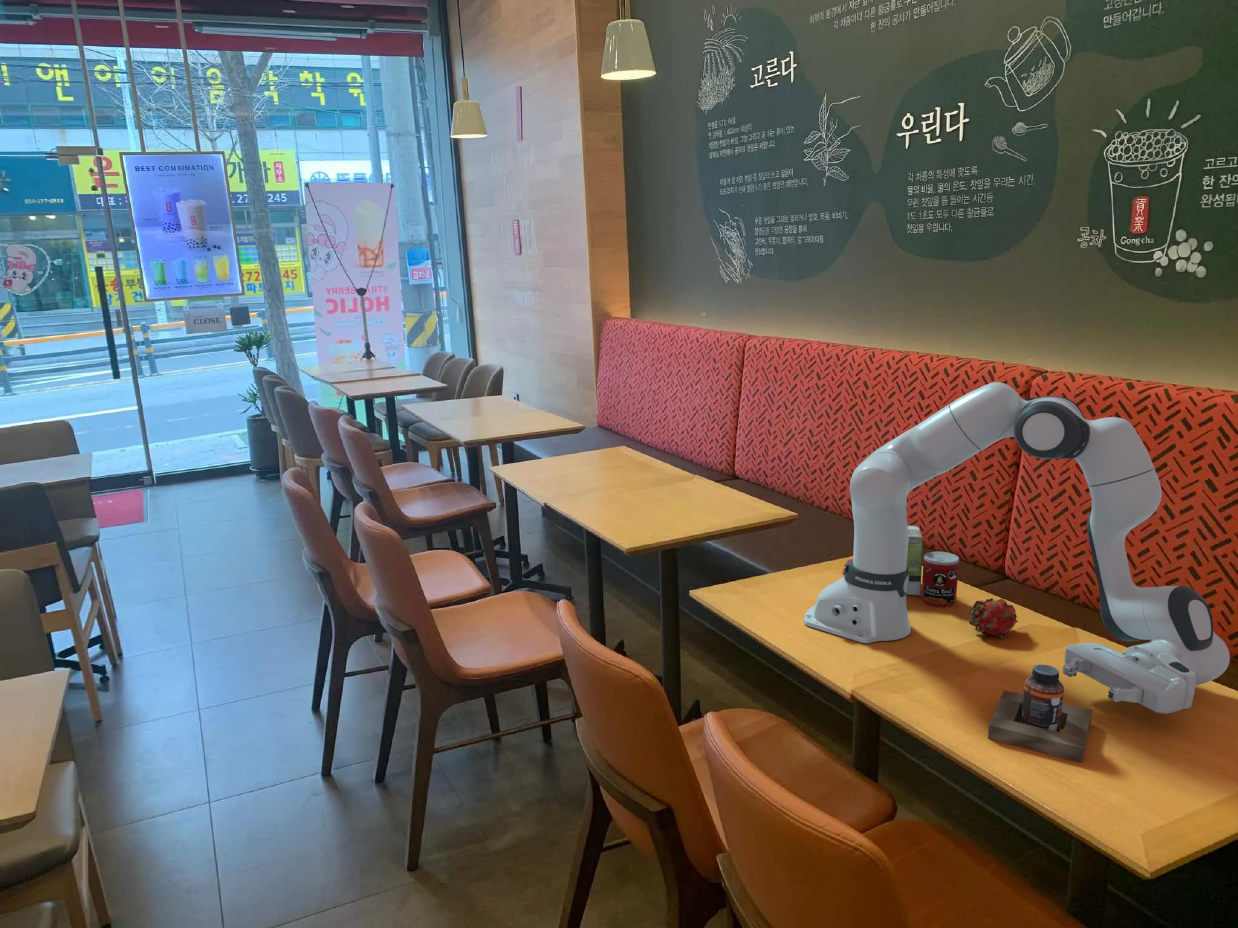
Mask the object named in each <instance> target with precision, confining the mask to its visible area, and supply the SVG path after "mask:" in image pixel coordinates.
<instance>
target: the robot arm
mask: <svg viewBox="0 0 1238 928" xmlns="http://www.w3.org/2000/svg"><path fill="white" fill-rule="evenodd" d="M1006 438H1014V440H1015V442H1016V444H1017V445H1018V446H1019V448H1020V450H1022V451H1023V452H1025V453H1026V454H1027V455H1028V456H1031V457H1033V458H1036V459H1042V460H1062V459H1063V460H1073V459H1075V461H1076V462H1077V463H1078V465H1079V466H1080V468H1081V471H1082V473H1083V475H1084V478H1085V481H1086V484H1087V486H1088V490H1089V492H1090V497H1091V511H1090V512H1089V514H1088V516H1087V520H1086V529H1087V537H1088V543H1089V548H1090V552H1091V553H1090V554H1091V557H1092V562H1093V567H1094V572H1095V575H1096V580H1097V585H1098V590H1099V607H1100V609H1099V610H1100V618H1101V621H1102V623H1103V625H1104V626H1105V628H1106V629H1107V630H1108V632H1109V633H1110V634H1111V635H1112V636H1113V637H1115V638H1117V639H1118V640H1120V641H1122V642H1123V641H1124V642H1137V641H1147V640H1149V642H1146V643H1142V644H1136V645H1132V646H1129V647H1127V648H1126V649H1124V650H1123V652H1120V651H1117V650H1115V649H1113V648H1111V647H1109V646H1106V645H1104V644H1102V643H1098V642H1084V643H1083V642H1082V643H1073V644H1068V645H1067V647H1066V649H1065V653H1064V664H1063V666H1062V671H1061V672H1062V674H1063V675H1065V676H1067V677H1069V678H1071V677H1077V673H1080V674H1082V675H1084V676H1086V677H1088V678H1090V679H1092V680H1094V681H1095V682H1098V683H1100V684H1101V685H1103V686H1106V687H1107V688H1109V689H1108V695H1107V698H1108V699H1110V700H1112V701H1113V702H1115V703H1118V702H1122V701H1123V702H1126V703H1127V702H1128V703H1138V704H1139V705H1141V706H1144V707H1145V708H1147V709H1149V710H1151V711H1153V712H1154V713H1158V714H1164V715H1166V714H1171V713H1176V712H1179V711H1181V710H1186V709H1191V707H1192V704H1193V701H1194V697H1195V692H1196V691H1195V690H1196V686H1200V685H1204V684H1206V683H1209V682H1211V681H1214V680H1215V679H1217V678H1220V677H1221V676H1222V675H1223V674H1224V673H1225V672H1226V671H1227V668H1228V667H1229V665H1230V660H1231V657H1230V650H1229V648H1228V646H1227V644H1226V643H1225V641H1224V640H1223V639H1221V638H1220V637H1219V636H1218V635H1217V634H1216V633H1215V631H1214V620H1213V619H1214V618H1213V615H1212V612H1211V609H1210V606H1209V605H1208V603H1207V602H1206V600H1205V599H1204V597H1203V596H1202V595H1201V594H1200V593H1199V592H1198V591H1196V590H1195V589H1194V588H1192V587H1190V586H1188V585H1166V586H1165V585H1161V586H1154V587H1153V586H1150V587H1149V586H1147V587H1139V586H1138V585H1136V584H1135V583H1134V581H1133V580H1132V576H1131V571H1130V567H1129V562H1128V561H1129V560H1128V556H1127V551H1126V547H1125V542H1126V541H1125V540H1126V537H1127V535H1128V534H1129V532H1130V531H1131V530H1132V529H1134V528H1135V527H1138V526H1139V525H1140V524H1142V523H1144V522H1145V521H1146V520H1148V519H1149V518H1151V516H1152V515H1153V514H1154V513H1155V512H1156V511H1157V510H1158V508H1159V506H1160V503H1161V501H1162V497H1163V495H1162V494H1163V493H1162V492H1163V491H1162V487H1161V485H1162V484H1161V482H1160V479H1159V476H1158V474H1157V471H1156V469H1155V466H1154V463H1153V462H1152V458H1151V457H1150V455H1149V452H1148V450H1147V448H1146V446H1145V444H1144V443H1143V441H1142V439H1141V438H1140V435H1139V434H1138V432H1137V431H1136V429H1135V428H1134V426H1133V425H1132V423H1130V422H1129V421H1128V420H1127V419H1124V418H1121V417H1117V416H1116V417H1115V416H1114V417H1113V416H1108V417H1103V418H1102V417H1101V418H1097V419H1095V420H1094V419H1091V420H1090V419H1087V418H1085V417H1084V413H1083V411H1082V410H1081V408H1080V407H1079V406H1078V404H1076V403H1075V402H1074V401H1072V400H1071V399H1069V398H1066V397H1064V396H1063V397H1062V396H1058V395H1055V396H1054V395H1053V396H1052V395H1051V396H1049V395H1048V396H1039V397H1038V396H1037V397H1027V398H1022V397H1021V396H1020V394H1018V392H1017V391H1016V389H1014V388H1013V387H1012V386H1010V385H1008V384H1006V383H1003V382H999V381H994V382H990V383H988V384H984V385H982V386H980V387H978V388H975V389H974V390H972V391H970V392H968V393H965V394H964V395H962V396H960V397H959V398H956V399H955V400H953V401H952V402H951V403H949V404H947V405H946V406H944V407H943V408H941V409H939V410H938V411H937V412H935V413H933V414H932V415H930V416H929V417H928V418H926V419H924V420H923V421H921V422H919V423H918V424H916V425H915V426H913V427H912V428H910V429H908V430H907V431H905V432H904V433H901V434H900V435H898V436H897V437H895V438H893V439H892V440H889V441H888V442H887V443H885V444H884V445H882V446H880V447H879V448H877V449H876V450H874V451H873V452H872V453H871V454H870V455H868V457H866V458H865V459H864V460H863V461H862V462H861V463H860V464H859V465H857V466H856V468H854V471H853V472H852V475H851V478H850V483H849V494H850V497H851V507H852V509H851V511H852V519H853V526H854V528H853V529H854V530H853V533H854V535H853V536H854V537H853V553H852V554H853V555H852V556H851V557H849V558H848V559H847V560H846V562H845V564H844V565H843V567H842V569H841V575H843V577H841V578H839V579H837V580H835V581H833V582H832V583H831V584H829V585H827V586H826V587H824V588H823V589H822V590H821V591H820V592H819V594H818V596H817V598H816V603H815V604H814V605H813V606H811V607H809V609H807V610H806V612H805V614H804V617H803V623H804V625H805V626H808V627H810V628H813V629H816V630H820V631H823V632H827V633H829V634H833V635H836V636H839V637H841V638H842V637H843V638H846V639H849V640H852V641H854V642H855V641H856V642H858V643H862V644H871V643H876V642H882V641H883V642H884V641H895V640H901V639H903V638H905V637H907V636H908V635H910V634H911V632H912V628H911V625H910V621H909V616H908V615H909V614H908V606H907V605H908V604H907V595H906V594H907V591H908V584H909V576H908V574H909V569H908V567H907V555H908V538H909V531H908V526H909V525H908V518H907V517H908V514H907V513H908V511H907V501H908V500H907V499H908V495H909V493H910V492H911V491H913V490H914V489H916V487H919V486H921V485H922V484H925V483H926V482H928V481H930V480H932V479H934V478H935V477H938V476H940V475H942V474H944V473H947V472H949V471H951V470H952V469H954V468H955V467H957V466H959V465H961V464H962V463H964V462H965V461H966V460H969V459H970V458H973V456H975V455H977V454H979V453H980V452H982V451H983V450H986V449H987V448H988V447H990V446H991V445H993V444H994V443H995V444H996V442H999V441H1000V440H1003V439H1006Z"/></svg>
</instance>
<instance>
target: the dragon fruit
mask: <svg viewBox="0 0 1238 928" xmlns="http://www.w3.org/2000/svg"><path fill="white" fill-rule="evenodd" d="M969 610H970V611H969V616H970V621H968V623H969V625H971V626H972V627H975V628H974V630H975V631H976V632H978V633H981V634H982V635H983V636H988V635H989V634H991V635H993V636H995V637H998V638H999V639H1000V638H1003V636H1004V635H1008V634H1009V632H1010V631H1011V630H1012V629H1014V626H1015V625H1016V623H1019V622H1018V620H1017V618H1018V616H1017V611H1016V608H1015V606H1014V605H1013V604H1008V602H1007V601H1006V599H1004V598H999V599H997V600H995V599H994V598H993V597H991V598H987V599H985V600H976V601H974V604H973V605H972V608H970V609H969Z"/></svg>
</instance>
